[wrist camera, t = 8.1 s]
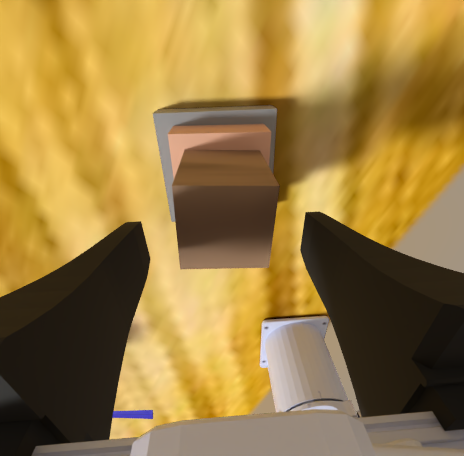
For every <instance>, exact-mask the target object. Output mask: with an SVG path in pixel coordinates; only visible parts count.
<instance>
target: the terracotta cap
mask: <svg viewBox="0 0 464 456" xmlns="http://www.w3.org/2000/svg"><path fill="white" fill-rule="evenodd" d="M168 140H169V148H170V155H171V162H172V170H173V177H174V178H175V175H176V173H177V170H178V167H179V164H180V161H181V159H182V156H183V153H184V150H260V152H261V153H262V155H263V157H264V159H265V161H266V162H267V164H268V166H269V158H270V144H271V131H270V130H269V129H268V128H267V127H266V125H265V124H236V125H192V126H173V127H172V128H171V130H170V131H169V133H168Z"/></svg>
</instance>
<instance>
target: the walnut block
mask: <svg viewBox="0 0 464 456" xmlns="http://www.w3.org/2000/svg"><path fill="white" fill-rule="evenodd" d="M279 187H280V186H279V184H278V182H277V180H276V179H275V177H274V175H273V173H272V171H271V170H270V168H269V166H268V164H267V162H266V161H265V159H264V157H263V155H262V153H261V152H260V150H184V153H183V156H182V159H181V161H180V164H179V167H178V170H177V173H176V175H175V178H174V181H173V184H172V192H173V202H174V211H175V221H176V231H177V241H178V251H179V261H180V269H217V268H269V261H270V254H271V246H272V239H273V231H274V224H275V217H276V209H277V202H278V194H279Z"/></svg>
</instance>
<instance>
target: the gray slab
mask: <svg viewBox="0 0 464 456" xmlns="http://www.w3.org/2000/svg"><path fill="white" fill-rule="evenodd" d="M153 118H154V123H155V129H156V135H157V141H158V146H159V152H160V158H161V163H162V169H163V175H164V180H165V186H166V192H167V197H168V203H169V209H170V215H171V220H172V222H174V221H175V211H174V202H173V192H172V184H173V181H174V177H173V170H172V162H171V155H170V148H169V140H168V133H169V131H170V130H171V128H172V127H173V126H192V125H236V124H265V125H266V127H267V128H268V129H269V130H270V131H271V144H270V158H269V168H270V170H271V171H272V173H273V168H274V152H275V135H276V119H277V108H275V107H274V106H272V105H261V106H235V107H208V108H182V109H158V110H157V111H155V112H154V113H153Z"/></svg>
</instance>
